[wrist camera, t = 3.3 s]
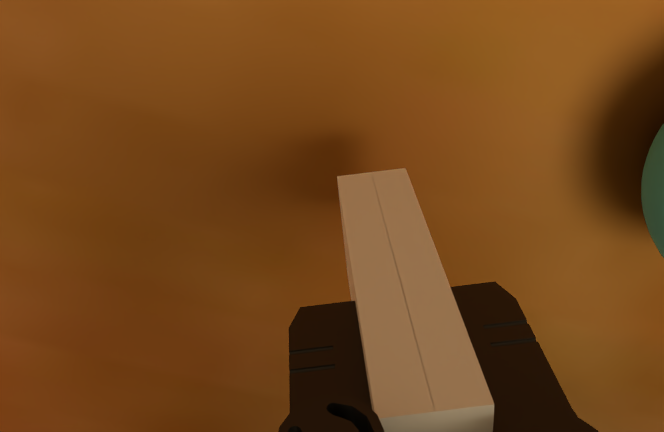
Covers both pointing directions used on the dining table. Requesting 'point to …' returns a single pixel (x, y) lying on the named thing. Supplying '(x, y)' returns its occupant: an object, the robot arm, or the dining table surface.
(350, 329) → the robot arm
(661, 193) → the ball
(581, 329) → the dining table surface
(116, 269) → the dining table surface
